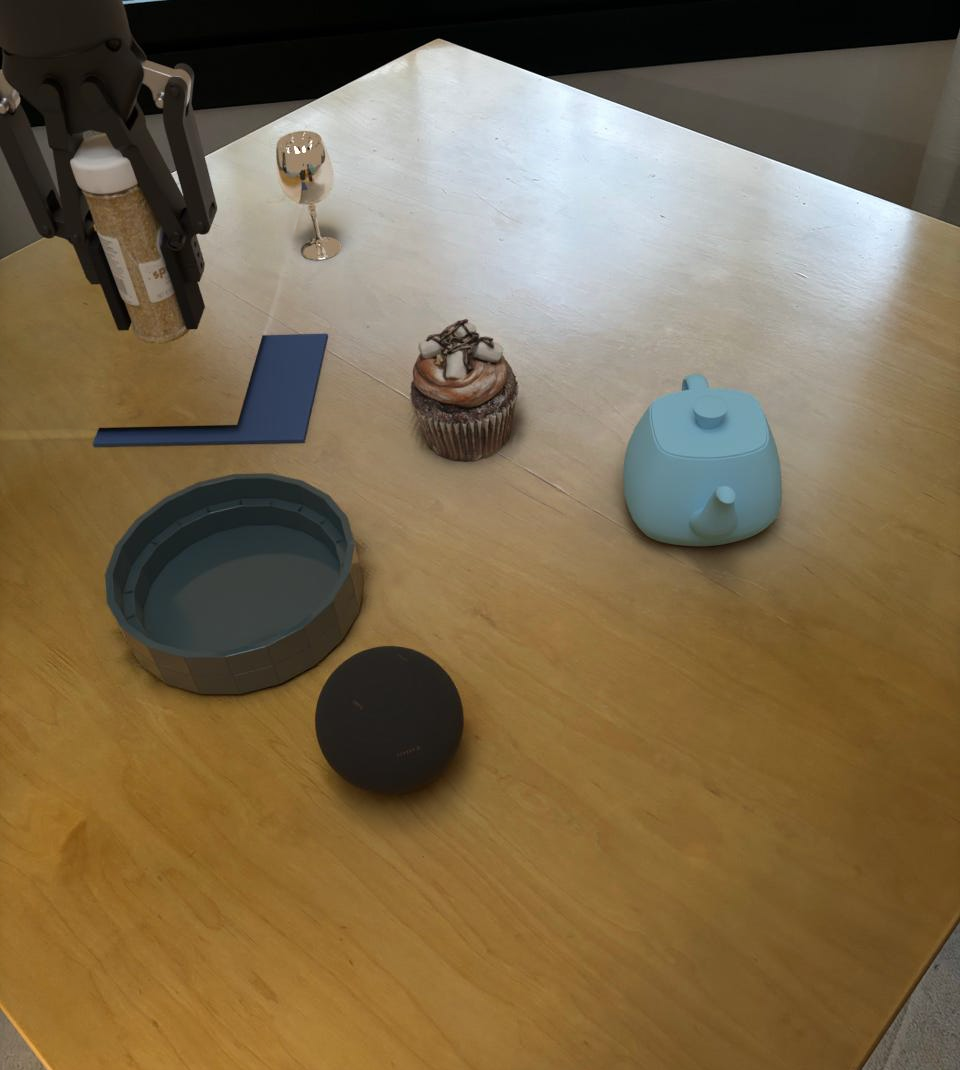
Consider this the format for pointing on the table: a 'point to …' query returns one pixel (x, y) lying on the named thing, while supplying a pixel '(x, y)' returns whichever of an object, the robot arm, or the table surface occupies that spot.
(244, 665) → the bowl
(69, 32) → the robot arm
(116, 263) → the sprinkles bottle
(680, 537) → the teapot
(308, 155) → the wineglass
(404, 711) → the speaker
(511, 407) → the cupcake
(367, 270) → the table surface
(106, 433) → the blue l-shaped plate
